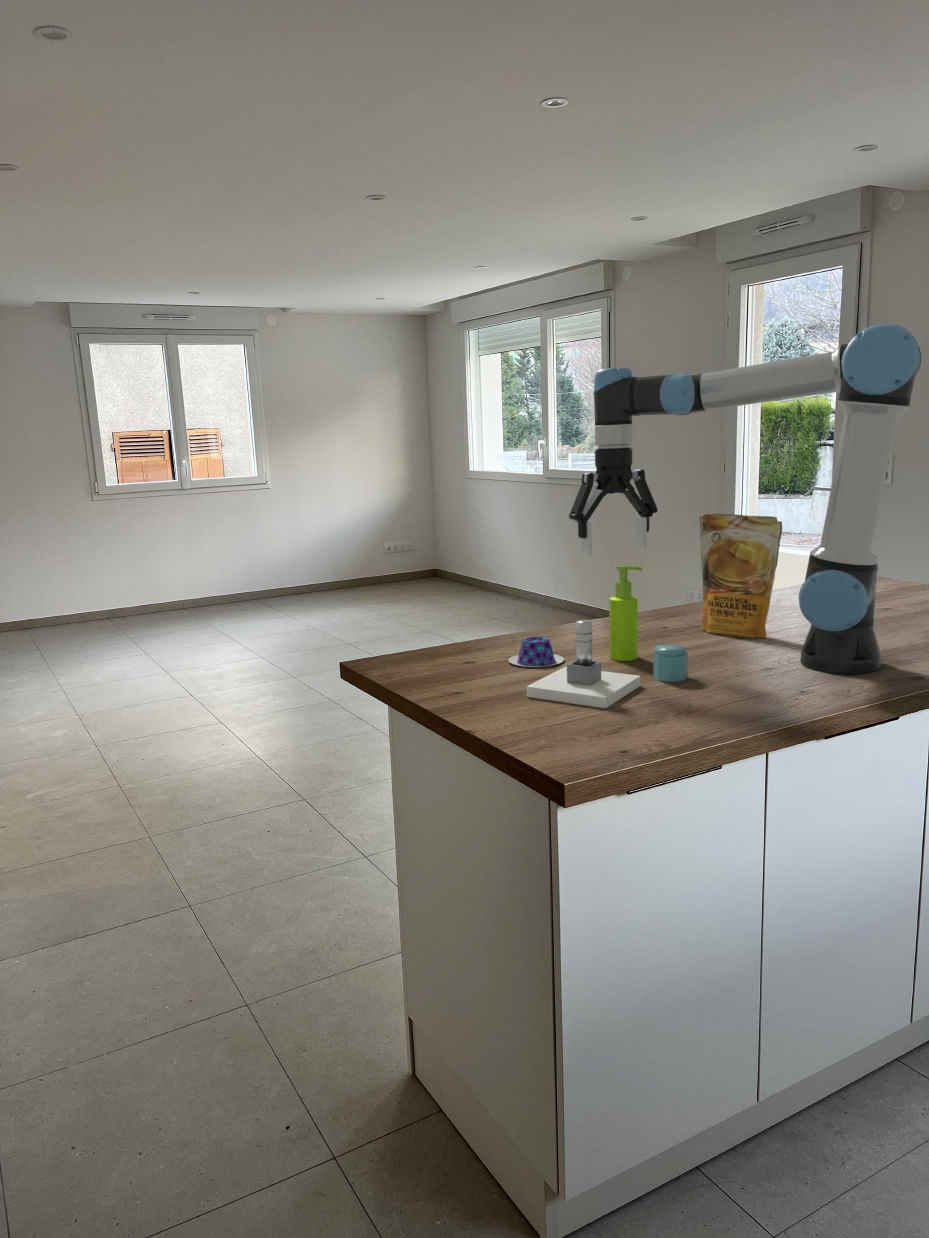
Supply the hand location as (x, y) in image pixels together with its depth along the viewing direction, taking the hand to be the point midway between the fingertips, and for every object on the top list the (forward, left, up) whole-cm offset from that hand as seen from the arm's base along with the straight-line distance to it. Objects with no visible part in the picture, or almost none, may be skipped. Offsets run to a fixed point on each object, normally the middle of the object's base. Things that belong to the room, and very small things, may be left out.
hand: (614, 551), depth 187 cm
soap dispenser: (-1, -4, -24) cm, 24 cm away
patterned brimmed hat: (+15, +7, -24) cm, 29 cm away
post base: (-4, +23, -24) cm, 33 cm away
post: (-4, +23, -20) cm, 31 cm away
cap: (-15, +7, -24) cm, 29 cm away
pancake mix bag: (-15, -36, -24) cm, 45 cm away
